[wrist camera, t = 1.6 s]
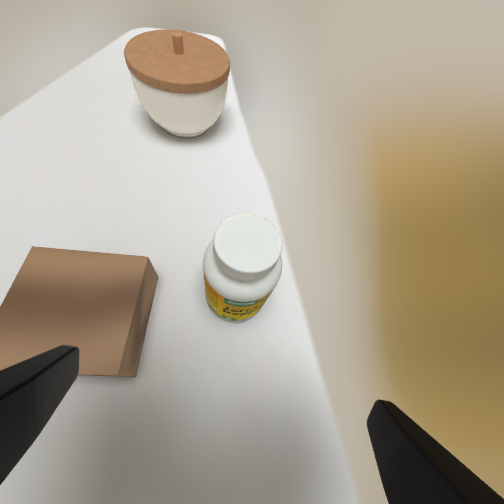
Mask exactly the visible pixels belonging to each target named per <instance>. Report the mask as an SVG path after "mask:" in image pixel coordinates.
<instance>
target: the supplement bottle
mask: <svg viewBox="0 0 504 504" xmlns="http://www.w3.org/2000/svg"><path fill="white" fill-rule="evenodd" d="M281 252H282V239H281V236H280V233H279V231H278V230H277V228H276V227H275V226H274V225H273V224H272V223H271V222H270V221H269V220H267V219H265V218H264V217H262V216H259V215H256V214H251V213H240V214H235V215H232V216H230V217H228V218H226V219H225V220H224V221H222V222H221V223H220V225H219V226H218V228H217V229H216V231H215V234H214V239H213V240H212V241H211V242H210V243H209V245H208V247H207V249H206V251H205V254H204V259H203V269H204V280H205V292H206V299H207V303H208V305H209V307H210V309H211V310H212V311H213V312H214V313H215V314H216V315H217V316H218V317H220V318H222V319H224V320H226V321H230V322H241V321H245V320H247V319H250V318H251V317H253V316H254V315H255V314H256V313H257V312H258V311H259V310H260V308H261V307H262V306H263V304H264V303H265V301H266V299H267V298H268V297H269V295H270V294H271V292H272V291H273V289H274V288H275V286H276V285H277V283H278V281H279V279H280V276H281V272H282V259H281Z"/></svg>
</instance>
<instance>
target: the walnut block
mask: <svg viewBox="0 0 504 504" xmlns="http://www.w3.org/2000/svg"><path fill="white" fill-rule="evenodd" d="M157 279H158V276H157V274H156V272H155V270H154V268H153V266H152V264H151V262H150V260H149V258H148V257H144V256H133V255H122V254H111V253H100V252H88V251H77V250H66V249H55V248H44V247H33V246H32V248H31V250H30V252H29V253H28V255H27V257H26V259H25V261H24V263H23V265H22V267H21V269H20V270H19V272H18V274H17V276H16V278H15V280H14V282H13V284H12V286H11V288H10V289H9V291H8V293H7V295H6V297H5V299H4V301H3V303H2V305H1V306H0V370H2V369H5V368H7V367H9V366H12V365H14V364H17V363H19V362H22V361H24V360H26V359H29V358H31V357H34V356H36V355H38V354H41V353H43V352H46V351H48V350H50V349H53V348H55V347H58V346H60V345H71V346H76V347H78V348H79V351H80V357H79V373H78V375H91V376H121V377H135V375H136V371H137V367H138V362H139V358H140V354H141V349H142V345H143V340H144V336H145V332H146V327H147V323H148V319H149V314H150V310H151V306H152V301H153V297H154V292H155V288H156V284H157Z"/></svg>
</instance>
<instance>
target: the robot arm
mask: <svg viewBox="0 0 504 504" xmlns="http://www.w3.org/2000/svg"><path fill="white" fill-rule="evenodd" d="M79 357H80V351H79V348H78V347H76V346H71V345H60V346H58V347H55V348H53V349H50V350H48V351H46V352H43V353H41V354H38V355H36V356H34V357H31V358H29V359H26V360H24V361H22V362H19V363H17V364H14V365H12V366H9V367H7V368H5V369H2V370H0V485H1V484H2V482H3V481H4V480H5V478H6V477H7V476H8V475H9V473H10V472H11V471H12V469H13V468H14V467H15V466H16V464H17V463H18V462H19V460H20V459H21V458H22V457H23V455H24V454H25V453H26V451H27V450H28V449H29V448H30V446H31V445H32V444H33V442H34V441H35V440H36V438H37V437H38V435H39V434H40V433H41V431H42V430H43V428H44V427H45V425H46V424H47V422H48V421H49V419H50V418H51V416H52V415H53V413H54V411H55V410H56V408H57V407H58V405H59V404H60V402H61V401H62V399H63V398H64V396H65V395H66V393H67V392H68V390H69V389H70V387H71V385H72V384H73V382H74V381H75V379H76V378H77V376H78V373H79ZM367 428H368V432H369V436H370V439H371V443H372V447H373V451H374V455H375V458H376V462H377V466H378V470H379V473H380V477H381V481H382V484H383V487H384V491H385V494H386V497H387V500H388V503H389V504H504V499H503V498H502V497H501V496H500V495H498V494H497V493H496V492H495V491H494V490H492V489H491V488H490V487H489V486H488V485H487V484H485V482H483V481H482V480H481V479H480V478H479V477H477V476H476V475H475V474H474V473H473V472H472V471H471V470H470V469H468V468H467V467H466V466H465V465H464V464H463V463H461V462H460V461H459V460H458V459H457V458H456V457H454V456H453V455H452V454H451V453H450V452H449V451H448V450H446V449H445V448H444V447H443V446H442V445H441V444H439V443H438V442H437V441H436V440H435V439H434V438H432V437H431V436H430V435H429V434H428V433H427V432H426V431H424V430H423V429H422V428H421V427H420V426H419V425H417V424H416V423H415V422H414V421H413V420H412V419H411V418H409V417H408V416H407V415H406V414H405V413H404V412H402V411H401V410H400V409H399V408H398V407H397V406H396V405H394V404H393V403H392V402H390V401H385V400H377V401H375V403H374V405H373V407H372V410H371V412H370V414H369V416H368V419H367Z"/></svg>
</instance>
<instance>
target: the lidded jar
mask: <svg viewBox="0 0 504 504" xmlns="http://www.w3.org/2000/svg"><path fill="white" fill-rule="evenodd" d="M124 56H125V60H126V64H127V66H128V69H129V70H130V74H131V78H132V81H133V85H134V88H135V90H136V93H137V95H138V98H139V100H140V102H141V104H142V106H143V107H144V109H145V110H146V112H147V113H148V115H149V116H150V117H151V118H152V119H153V120H154V121H155V122H156V123H157V124H159V125H160V126H161V127H163V128H164V129H165V130H166V131H167V132H169V133H170V134H172V135H175V136H178V137H185V138H190V137H196V136H199V135H201V134H203V133H204V132H206V130H207V129H208V128H209V127H211V126H212V125H213V124H214V123H215V122H216V120H217V119H218V118H219V116H220V114H221V112H222V110H223V107H224V103H225V99H226V94H227V85H228V76H229V71H230V60H229V57H228V55H227V53H226V52H225V50H224V49H223V48H222V47H221V46H219V45H218V44H217V43H215V42H214V41H212V40H210V39H208V38H206V37H203V36H201V35H198V34H194V33H191V32H186V31H179V30H155V31H149V32H145V33H142V34H139V35H137V36H135V37H133V38H132V39H131V40H130V41H129V42H128V43H127V45H126V47H125V50H124Z"/></svg>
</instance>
